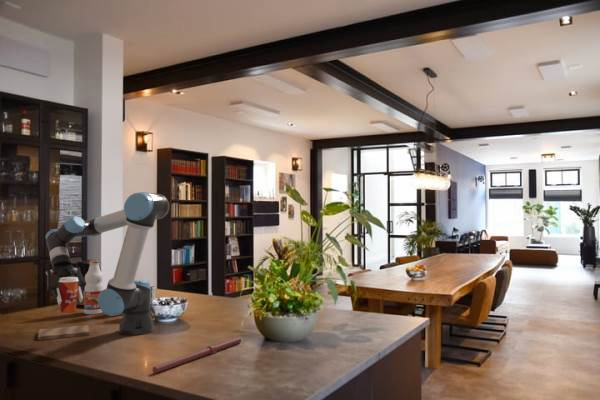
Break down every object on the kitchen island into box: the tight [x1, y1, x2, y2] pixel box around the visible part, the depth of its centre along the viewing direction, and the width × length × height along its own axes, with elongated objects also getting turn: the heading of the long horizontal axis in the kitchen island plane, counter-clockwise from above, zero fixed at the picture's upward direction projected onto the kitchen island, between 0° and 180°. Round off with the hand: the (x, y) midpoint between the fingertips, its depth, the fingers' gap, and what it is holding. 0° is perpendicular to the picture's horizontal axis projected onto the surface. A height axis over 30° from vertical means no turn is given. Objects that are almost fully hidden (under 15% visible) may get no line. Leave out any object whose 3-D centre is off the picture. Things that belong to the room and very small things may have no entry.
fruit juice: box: [83, 259, 104, 315], centre depth 258 cm, size 9×9×28 cm
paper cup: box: [58, 276, 79, 314], centre depth 200 cm, size 8×8×14 cm
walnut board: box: [37, 324, 90, 341], centre depth 213 cm, size 20×14×2 cm
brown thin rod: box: [152, 336, 242, 374], centre depth 180 cm, size 45×3×3 cm, turn 148°
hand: (70, 301), depth 197 cm, fingers closed on paper cup, 8 cm apart
